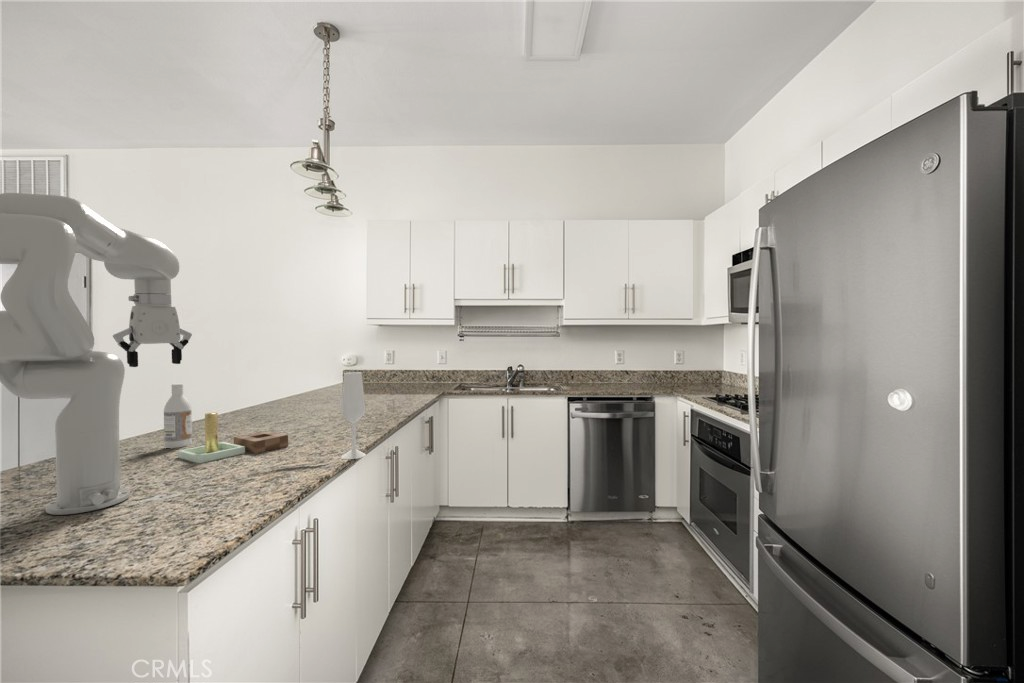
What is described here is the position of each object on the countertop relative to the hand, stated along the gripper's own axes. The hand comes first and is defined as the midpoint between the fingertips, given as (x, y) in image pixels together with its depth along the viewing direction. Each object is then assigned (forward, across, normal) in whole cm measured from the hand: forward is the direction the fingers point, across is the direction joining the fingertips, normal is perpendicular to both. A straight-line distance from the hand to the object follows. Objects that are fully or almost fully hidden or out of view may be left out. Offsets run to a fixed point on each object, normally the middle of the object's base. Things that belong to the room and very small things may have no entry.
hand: (155, 365), depth 118 cm
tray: (+27, +11, -5) cm, 30 cm away
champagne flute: (+27, +30, -41) cm, 57 cm away
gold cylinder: (+27, +11, -5) cm, 29 cm away
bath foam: (+28, +13, +18) cm, 36 cm away
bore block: (+28, +23, -8) cm, 37 cm away
